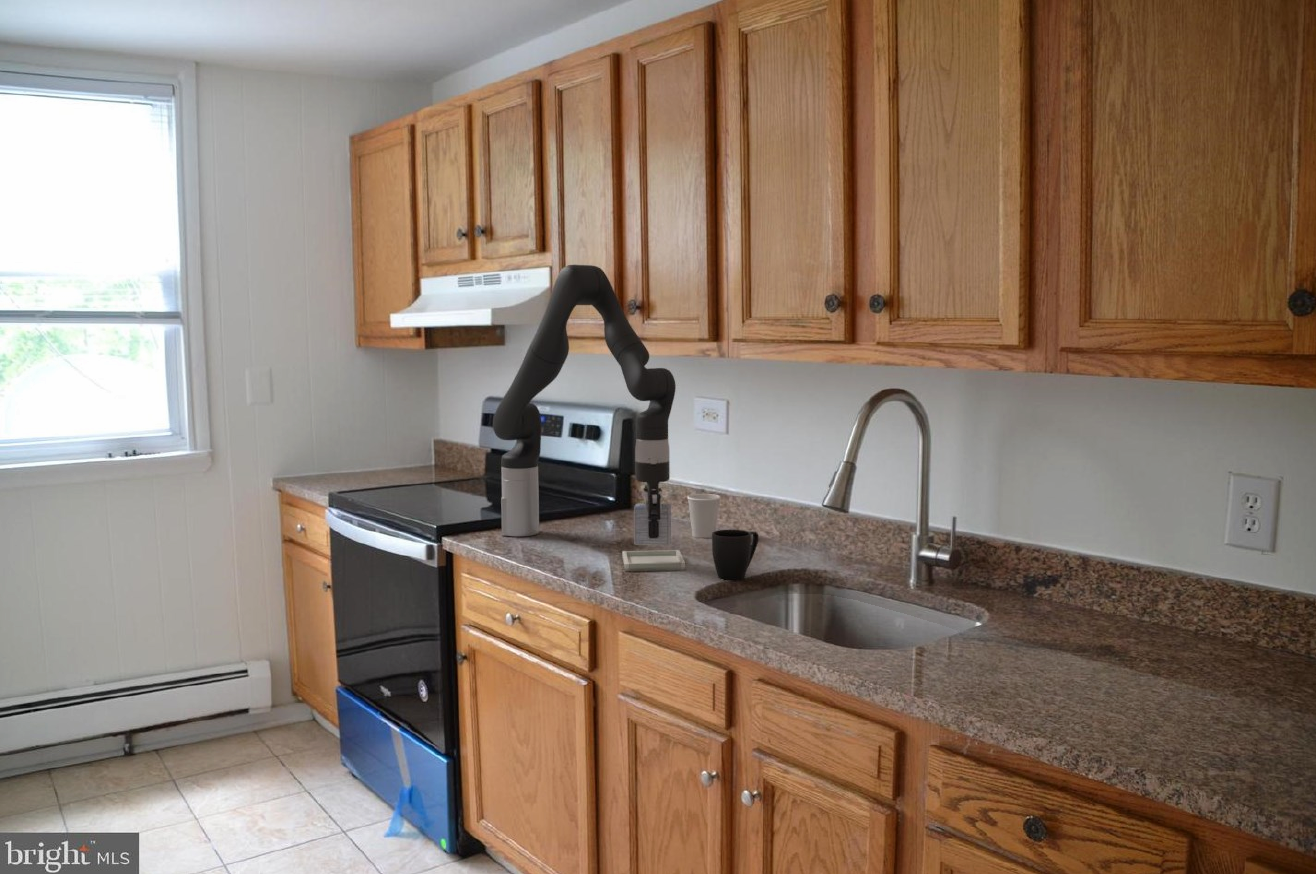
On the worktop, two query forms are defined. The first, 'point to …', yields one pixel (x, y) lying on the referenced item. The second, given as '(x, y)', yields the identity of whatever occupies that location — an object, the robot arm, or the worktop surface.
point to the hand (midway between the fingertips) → (652, 535)
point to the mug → (733, 552)
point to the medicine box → (642, 526)
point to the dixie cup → (703, 514)
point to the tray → (653, 560)
